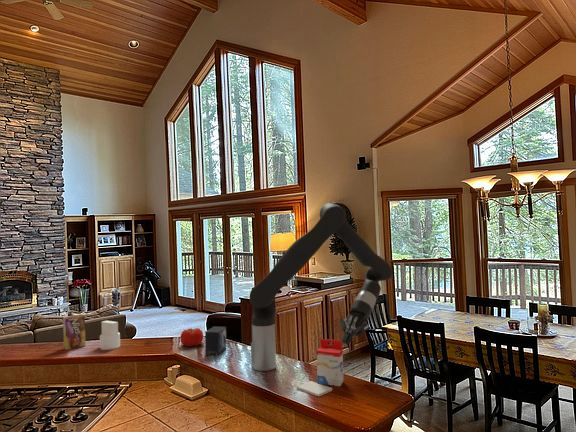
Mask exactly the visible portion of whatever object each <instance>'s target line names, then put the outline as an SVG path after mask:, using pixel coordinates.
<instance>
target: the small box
mask: <svg viewBox="0 0 576 432" xmlns="http://www.w3.org/2000/svg"><path fill="white" fill-rule="evenodd" d="M204 332H205V333H204V335H205V336H204V337H205V339H204V340H205V342H204V343H205V348H204V351H205V352H204V353H205V355H204V356H217V357H218V356H219V355H221V354H222V353H223V352H225V351H226V350H227V326H216V325H215V326H211V328H208V330H206V331H204Z"/></svg>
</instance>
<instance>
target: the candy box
mask: <svg viewBox="0 0 576 432" xmlns="http://www.w3.org/2000/svg"><path fill="white" fill-rule="evenodd" d="M85 321H86V320H85V314H83V313H80V314H75V315H74V314H73V315H69V316H68V315H67V316H63V317H62V322H63V323H62V326H63V327H62V329H63V331H62V334H63V349H64V350H66V351H67V350H73V349H79V348H82V347H85V346H86V324H85V323H86V322H85Z"/></svg>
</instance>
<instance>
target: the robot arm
mask: <svg viewBox="0 0 576 432" xmlns="http://www.w3.org/2000/svg"><path fill="white" fill-rule="evenodd" d="M335 233H336V235H338V237H339V238H340V239H341V240H342V242H343V243H344V244H345V246H346V247H347V248H348V249H349V251H350V252H351V253H352V254H353V256H354V258H356V259H357V260H358V262H359V263H360V264H361V265H362V266H364V267H368V268H367V270H366V272H365V277H364V282H363V285H362V287H361V289H360V291H359V292H358V294H357V295H356V297H355V300H354V302H353V303H352V305H351V306H350V309H349V314H348V315H347V316H346V318H343V317H342V318H340V319H339V320H340V326H341V330H342V332H343V333H344V335H343V336H342V339H341V341H342V344H343V345H346V346H349V344H350V343H351V341H352V339H353V338H354V337H359V336H360V335H362V334H363V333H365V332H366V331H367V330H369V329H370V325H369V324H368V323H367V322H368V320H369V318H370V316H371V313H372V311H373V309H374V307H375V305H376V301H377V299H378V297H379V295H380V293H381V289H382V287H381V285H380V284H379V282H382V281H387V280H390V279H391V278H392V276H393V270H392V267H391V265H390V264H389V263H388V262H387V261H386V260H385V259H384V258H382V257H381V256H380V255H378V254H377V253H376V252H375V251H374V250H373V249H372V248H371V247H370V245H369V244H368V243H367V242H366V241H365V240H364V238H362V236H361V235H360V234H358V232H357V231H356V230H355V229H354V228H353V227H352V226H351V225H350V224H349V222H348V220H347V213H346V211H345V209H344V208H343V207H342V206H340V205H339V204H337V203H334V202H327V203H325V204H324V205H322V206H321V208H320V209H319V220H318V221H317V222H316V224H314V226H313V227H312V228H311V229H310V230H308V232H306V233H305V234H303V235H302V236H300V237H299V238H297V239H296V240H295V241H294V242H293V243H291V245H290V246H289V247H288V249H286V251H284V253H283V254H282V255H281V256H280V257H279V259H278V261H277V262H276V264H275V265H274V266H273V268H272V269H271V271H270V272H269V273H268V274H267V275H266V276H265V277H264V278H263V279H261V281H259V283H257V284H256V285H255V286H253V287H252V289H251V290H250V292H249V302H250V304H251V306H252V313H251V314H252V315H251V341H252V342H250V363H251V364H250V365H251V367H252V368H253V370H255V371H259V372H267V371H272V370H274V369H276V368H277V356H276V355H277V352H276V349H277V348H276V347H277V346H276V323H275V322H276V321H275V320H276V297H277V294H278V293H279V292H280V291H281V289H282V288H283V287H284V286H285V285H286V283H288V282H289V281H290V280H292V279H293V278H294V277H295V276H296V275H297V274H298V273H299V272H300V271H301V270H302V269H303V268H304V267H305V266H306V264H307V263H309V261H310V260H311V259H312V257H313V256H315V255H316V253H317V252H318V251H319V249H320V248H321V247H322V246H323V245H324V243H326V241H328V239H330V238H331V236H333V235H334V234H335Z"/></svg>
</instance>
